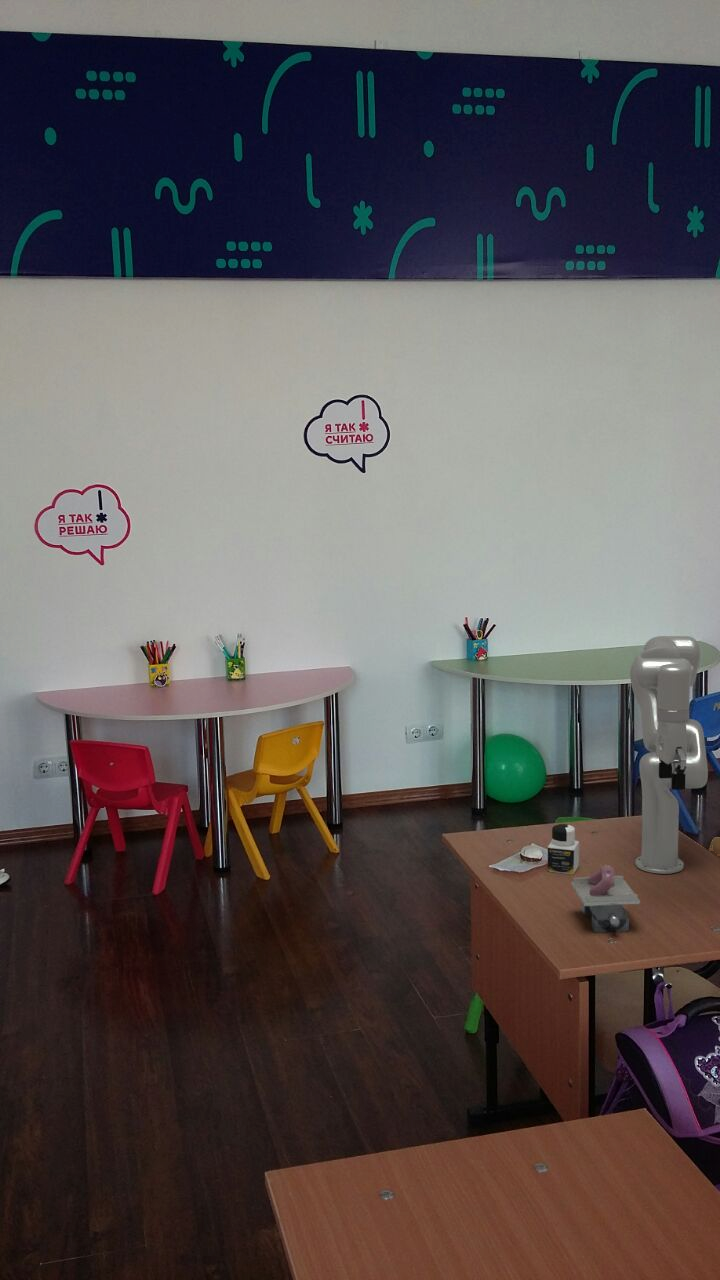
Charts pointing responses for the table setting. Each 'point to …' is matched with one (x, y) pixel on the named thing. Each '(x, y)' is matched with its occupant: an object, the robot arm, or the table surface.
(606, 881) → the video game controller
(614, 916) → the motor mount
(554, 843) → the medicine bottle
